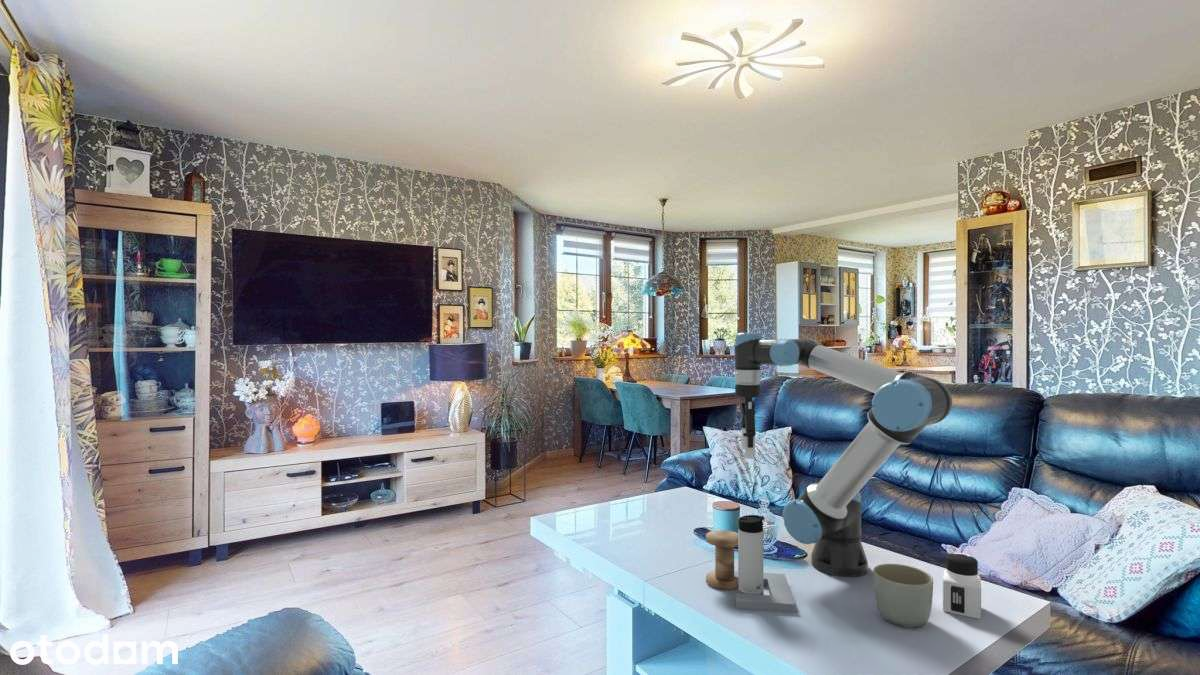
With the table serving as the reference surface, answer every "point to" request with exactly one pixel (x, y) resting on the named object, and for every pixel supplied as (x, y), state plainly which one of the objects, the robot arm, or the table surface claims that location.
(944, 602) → the container
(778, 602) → the notched board
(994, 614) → the table surface
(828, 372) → the robot arm
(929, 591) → the planter
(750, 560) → the travel mug
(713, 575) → the bobbin
